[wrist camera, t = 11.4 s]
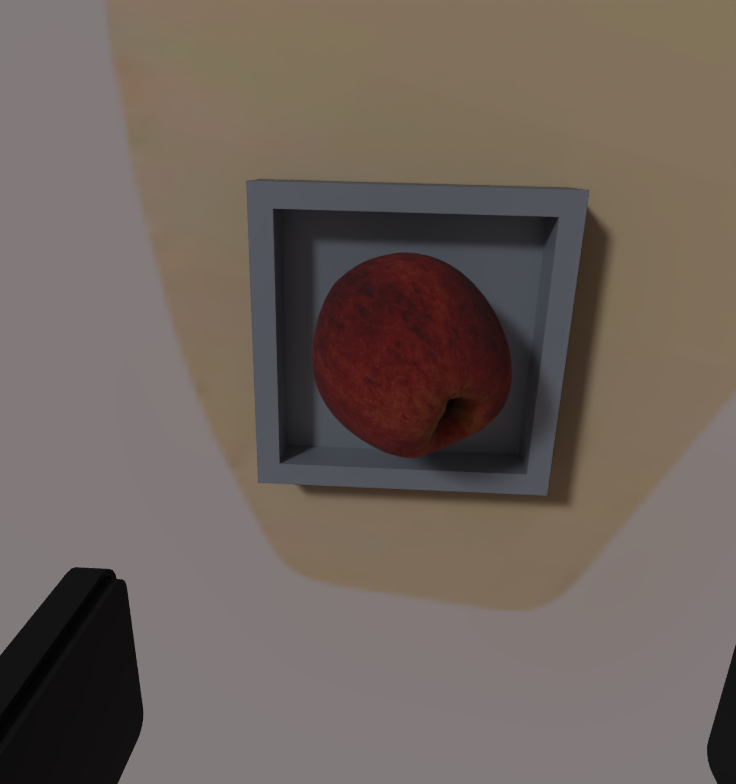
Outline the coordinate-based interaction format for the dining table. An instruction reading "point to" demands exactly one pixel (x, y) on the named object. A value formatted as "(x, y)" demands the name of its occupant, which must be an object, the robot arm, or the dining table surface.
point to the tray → (428, 237)
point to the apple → (410, 355)
